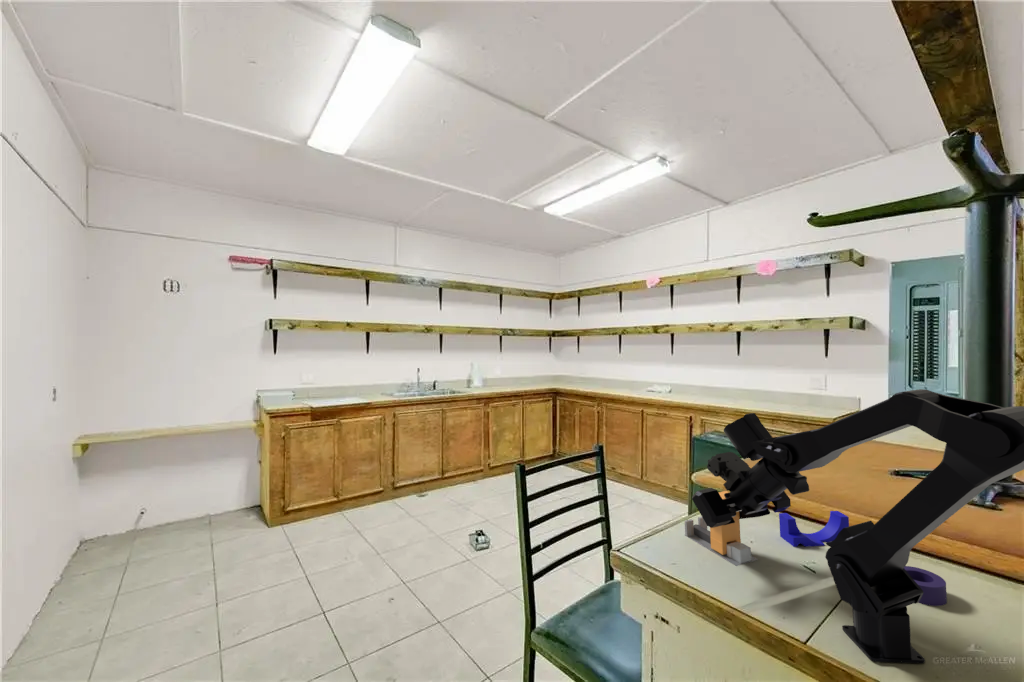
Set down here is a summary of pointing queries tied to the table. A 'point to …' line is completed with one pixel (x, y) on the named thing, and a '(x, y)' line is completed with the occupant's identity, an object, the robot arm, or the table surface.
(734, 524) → the orange block
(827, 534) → the cable clip
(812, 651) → the table surface
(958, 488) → the robot arm
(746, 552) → the grey pronged base
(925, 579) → the lever
